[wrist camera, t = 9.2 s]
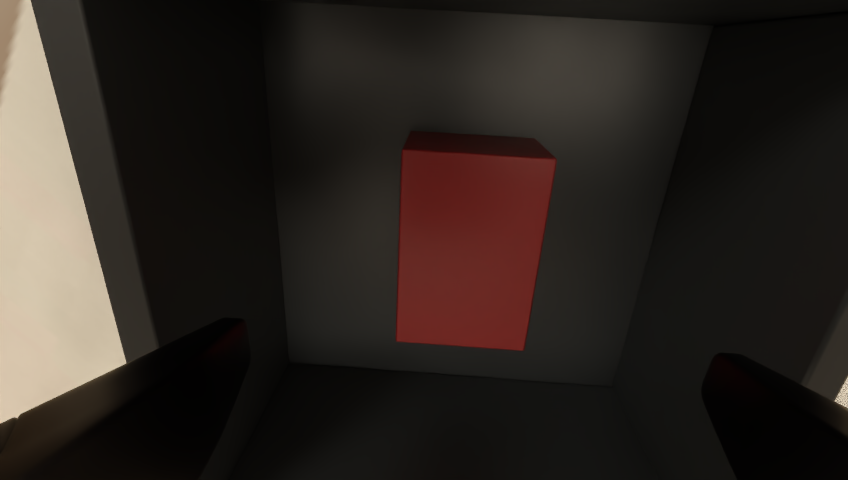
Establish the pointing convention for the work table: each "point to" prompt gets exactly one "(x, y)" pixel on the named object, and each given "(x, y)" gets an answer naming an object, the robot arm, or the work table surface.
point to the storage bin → (380, 206)
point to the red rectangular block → (470, 238)
